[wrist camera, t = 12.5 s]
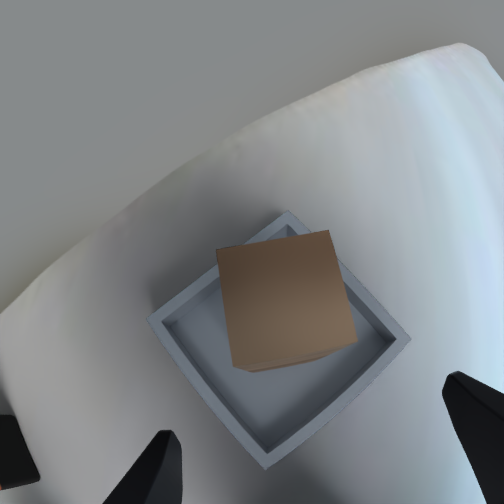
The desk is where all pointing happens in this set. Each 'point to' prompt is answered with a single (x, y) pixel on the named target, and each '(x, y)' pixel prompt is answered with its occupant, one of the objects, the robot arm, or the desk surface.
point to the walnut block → (284, 302)
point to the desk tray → (277, 380)
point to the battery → (14, 456)
